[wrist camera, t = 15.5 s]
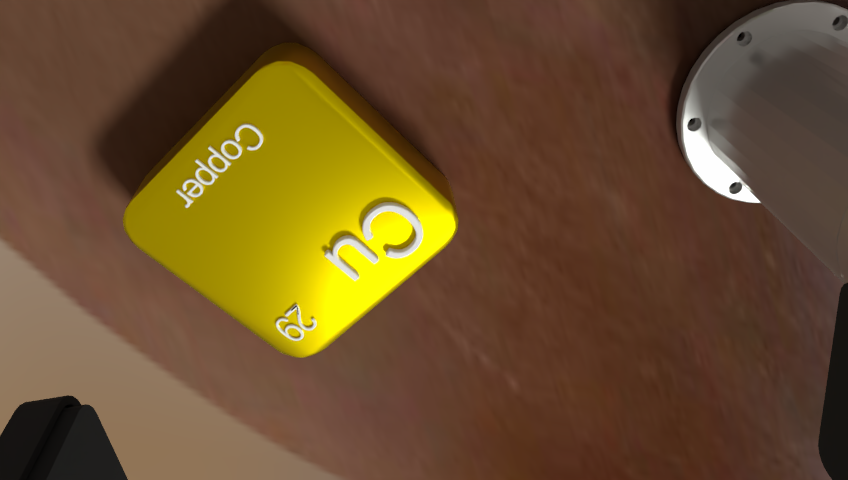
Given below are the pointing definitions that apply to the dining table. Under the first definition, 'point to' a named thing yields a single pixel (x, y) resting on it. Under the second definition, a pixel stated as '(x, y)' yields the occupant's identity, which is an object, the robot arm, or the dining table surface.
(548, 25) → the dining table surface
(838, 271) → the robot arm
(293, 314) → the element tile
